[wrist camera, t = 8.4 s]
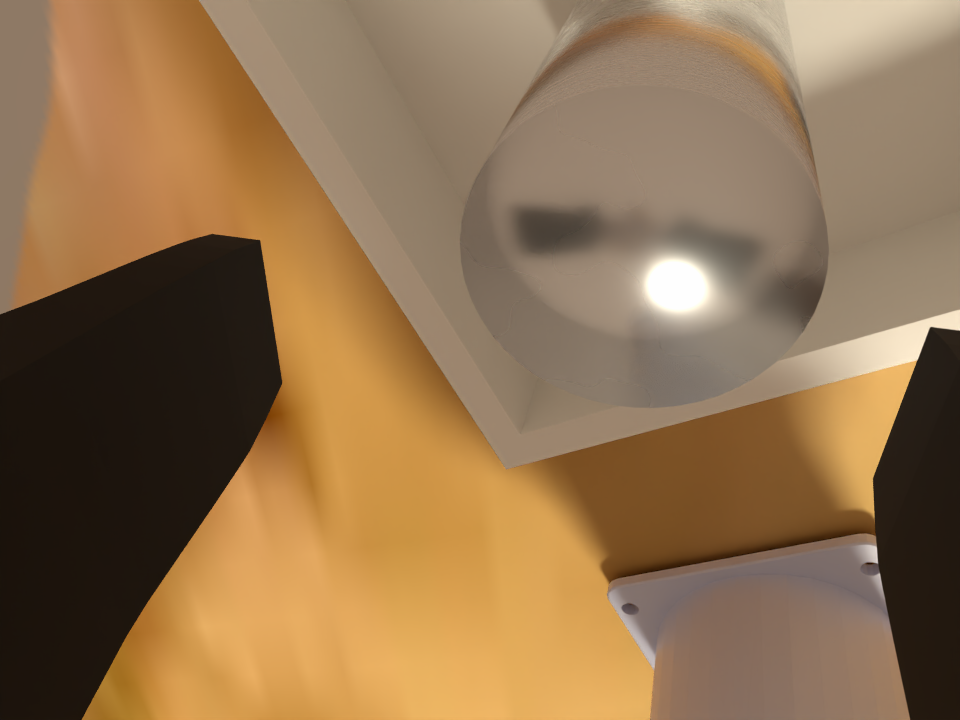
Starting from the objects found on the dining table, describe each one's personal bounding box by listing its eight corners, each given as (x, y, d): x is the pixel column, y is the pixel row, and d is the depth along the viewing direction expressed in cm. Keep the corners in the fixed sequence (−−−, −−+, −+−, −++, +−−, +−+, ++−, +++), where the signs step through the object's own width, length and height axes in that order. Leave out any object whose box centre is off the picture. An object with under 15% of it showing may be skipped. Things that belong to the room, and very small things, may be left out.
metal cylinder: (810, -69, 15) (879, 109, 8) (759, 148, 17) (778, 432, 10) (583, -86, 16) (463, 65, 9) (564, 126, 18) (457, 379, 11)
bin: (1098, 186, 17) (1181, 289, 14) (538, 367, 23) (506, 469, 20) (923, -602, 12) (993, -729, 9) (254, -110, 18) (149, -77, 14)
